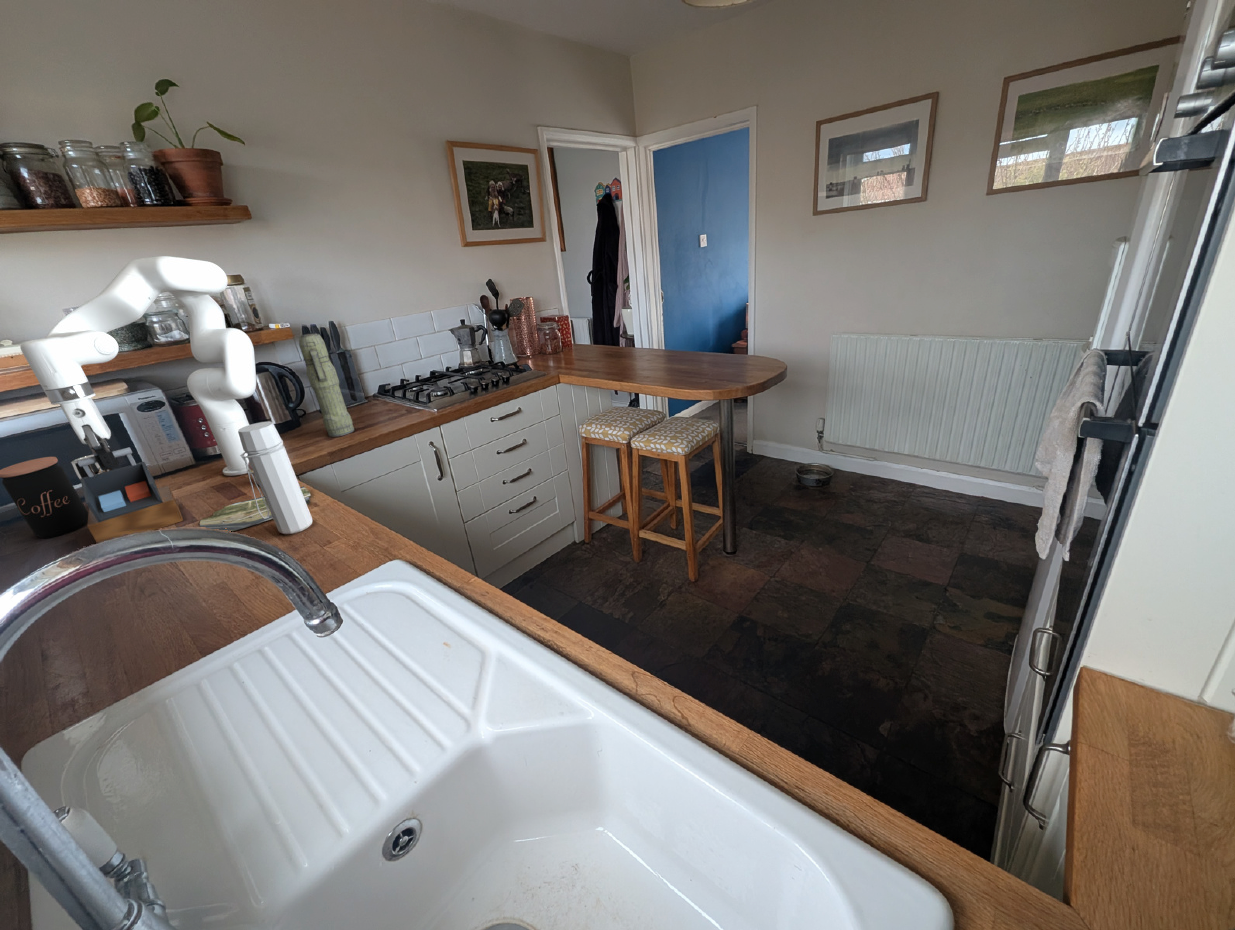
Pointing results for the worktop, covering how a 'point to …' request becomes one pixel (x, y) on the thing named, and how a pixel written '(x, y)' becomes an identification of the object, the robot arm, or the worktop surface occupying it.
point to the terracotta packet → (137, 491)
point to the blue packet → (112, 501)
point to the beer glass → (93, 467)
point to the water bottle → (275, 477)
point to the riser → (138, 519)
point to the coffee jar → (45, 497)
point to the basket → (117, 486)
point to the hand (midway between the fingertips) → (110, 466)
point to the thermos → (325, 385)
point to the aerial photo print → (242, 514)
